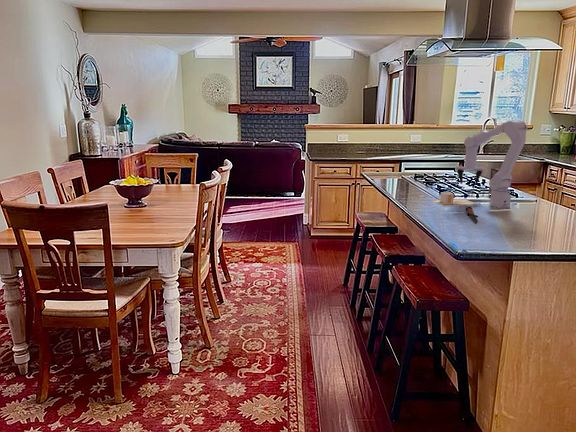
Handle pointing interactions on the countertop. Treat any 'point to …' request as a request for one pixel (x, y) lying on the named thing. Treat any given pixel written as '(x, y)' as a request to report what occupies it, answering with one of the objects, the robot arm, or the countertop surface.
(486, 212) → the countertop surface
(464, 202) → the shaft board
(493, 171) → the coffee box
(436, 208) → the countertop surface
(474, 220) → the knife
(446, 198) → the slotted knob
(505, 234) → the countertop surface
